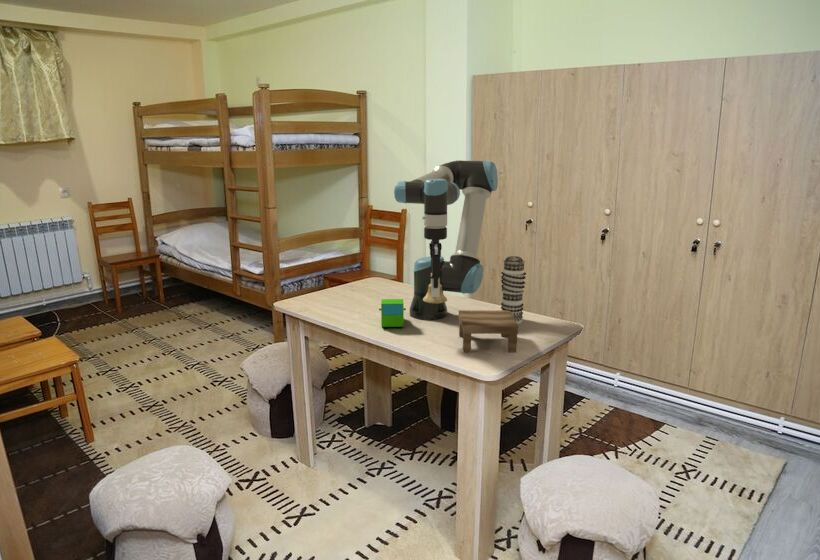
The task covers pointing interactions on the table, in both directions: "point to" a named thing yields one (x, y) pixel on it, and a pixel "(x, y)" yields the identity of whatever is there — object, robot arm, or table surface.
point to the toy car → (392, 313)
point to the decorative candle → (513, 287)
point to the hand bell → (434, 299)
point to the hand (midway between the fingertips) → (435, 293)
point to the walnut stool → (487, 326)
